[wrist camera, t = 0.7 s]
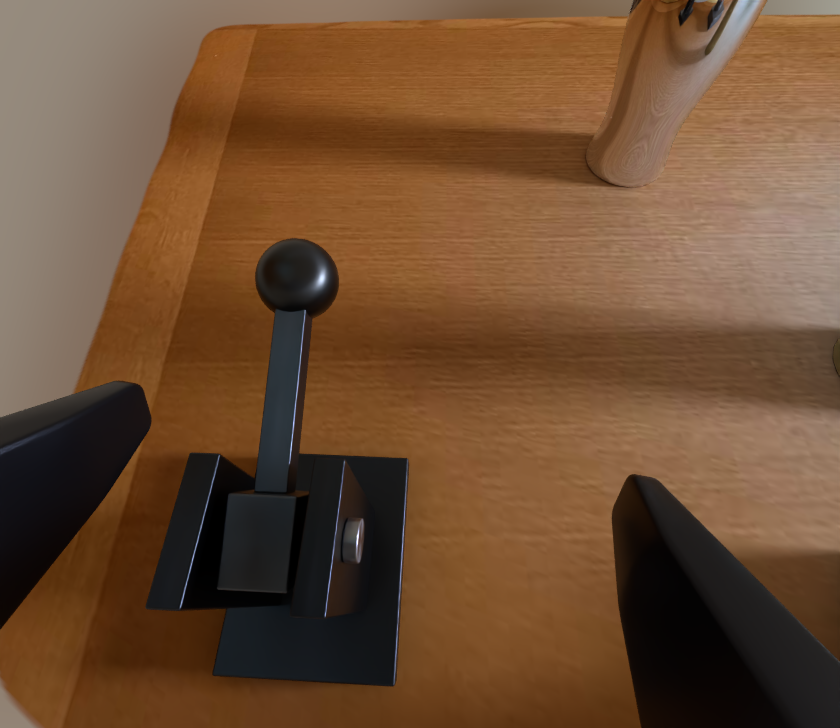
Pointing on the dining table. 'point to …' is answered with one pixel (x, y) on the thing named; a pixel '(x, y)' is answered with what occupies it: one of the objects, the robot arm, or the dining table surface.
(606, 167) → the beer glass
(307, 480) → the switch bracket
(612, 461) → the dining table surface
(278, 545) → the switch
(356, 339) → the dining table surface
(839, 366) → the olive game pawn
